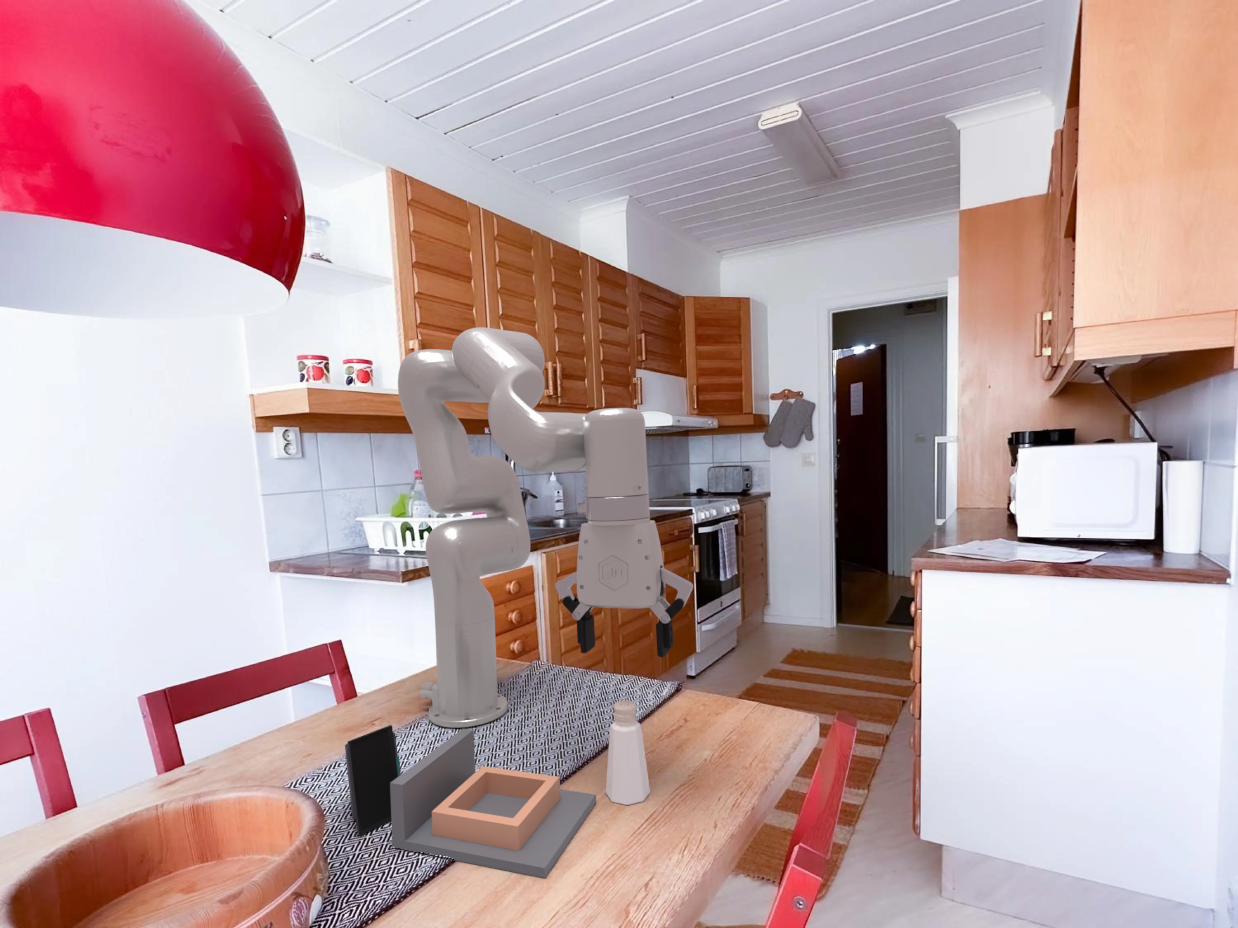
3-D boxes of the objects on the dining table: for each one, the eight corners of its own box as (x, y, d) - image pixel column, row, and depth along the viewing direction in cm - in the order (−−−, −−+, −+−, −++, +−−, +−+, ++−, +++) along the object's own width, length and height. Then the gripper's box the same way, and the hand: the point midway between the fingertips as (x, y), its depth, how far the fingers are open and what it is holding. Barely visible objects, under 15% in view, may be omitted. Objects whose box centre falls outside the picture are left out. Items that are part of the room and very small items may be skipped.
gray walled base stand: (392, 847, 68) (389, 782, 68) (464, 782, 81) (462, 728, 81) (545, 878, 62) (542, 806, 62) (596, 802, 75) (593, 744, 75)
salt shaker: (606, 782, 80) (603, 695, 80) (649, 781, 80) (646, 694, 80) (604, 805, 74) (601, 712, 74) (650, 805, 74) (647, 711, 74)
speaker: (411, 818, 73) (401, 727, 73) (358, 838, 70) (348, 742, 70) (399, 796, 79) (389, 712, 80) (349, 812, 76) (340, 726, 77)
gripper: (540, 515, 76) (547, 657, 76) (681, 511, 70) (688, 665, 70) (565, 510, 83) (571, 640, 83) (695, 506, 77) (701, 646, 77)
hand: (625, 651), depth 77 cm, fingers open, 9 cm apart
